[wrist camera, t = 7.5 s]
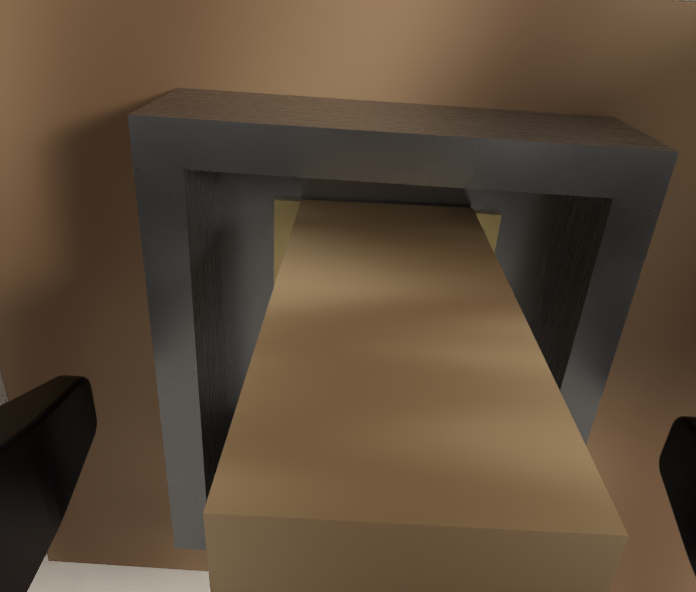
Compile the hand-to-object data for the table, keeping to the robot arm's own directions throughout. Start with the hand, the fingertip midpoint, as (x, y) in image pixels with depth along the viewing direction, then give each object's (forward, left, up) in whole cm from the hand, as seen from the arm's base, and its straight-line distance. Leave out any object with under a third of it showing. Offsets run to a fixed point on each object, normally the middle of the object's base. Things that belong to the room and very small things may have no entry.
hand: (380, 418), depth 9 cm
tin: (0, 0, -3) cm, 3 cm away
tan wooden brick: (0, 0, -3) cm, 3 cm away
